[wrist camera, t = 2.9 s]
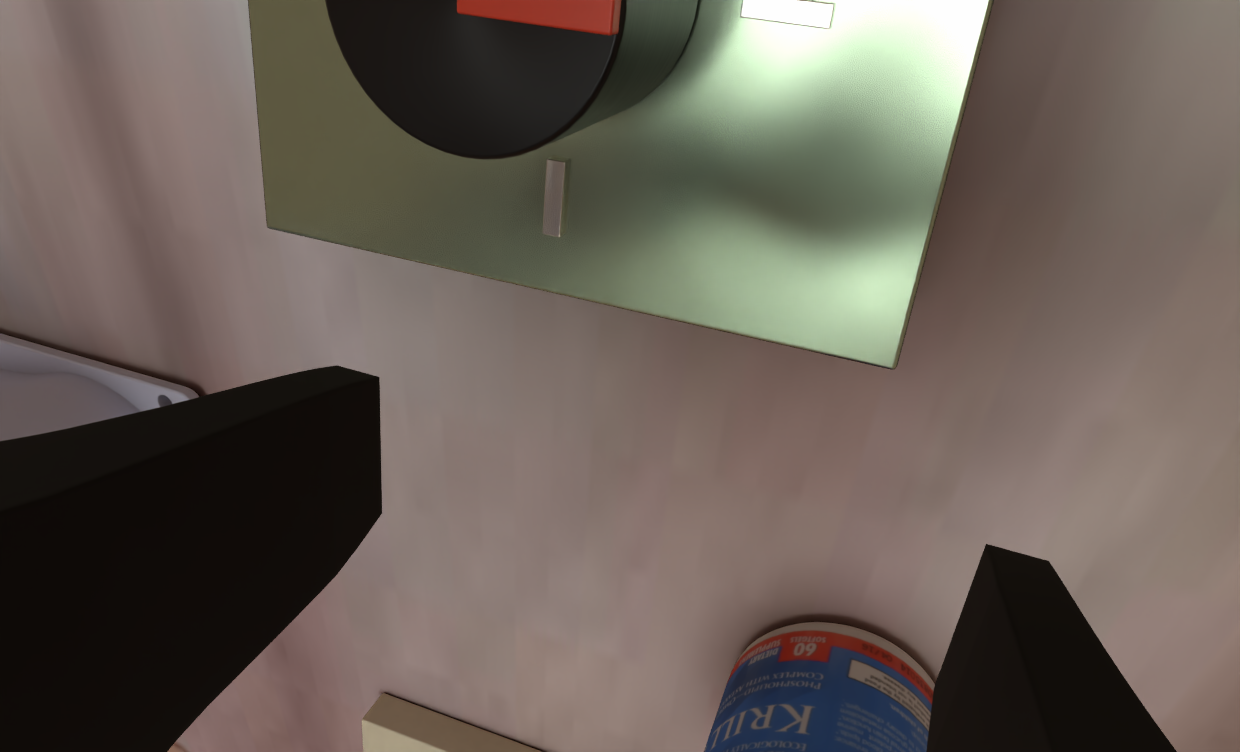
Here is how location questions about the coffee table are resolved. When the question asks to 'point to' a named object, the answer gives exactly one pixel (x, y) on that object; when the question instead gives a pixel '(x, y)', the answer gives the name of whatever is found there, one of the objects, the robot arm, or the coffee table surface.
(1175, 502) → the coffee table surface
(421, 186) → the panel
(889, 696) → the pill bottle
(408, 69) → the dial
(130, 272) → the coffee table surface
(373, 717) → the switch block
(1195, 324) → the coffee table surface
